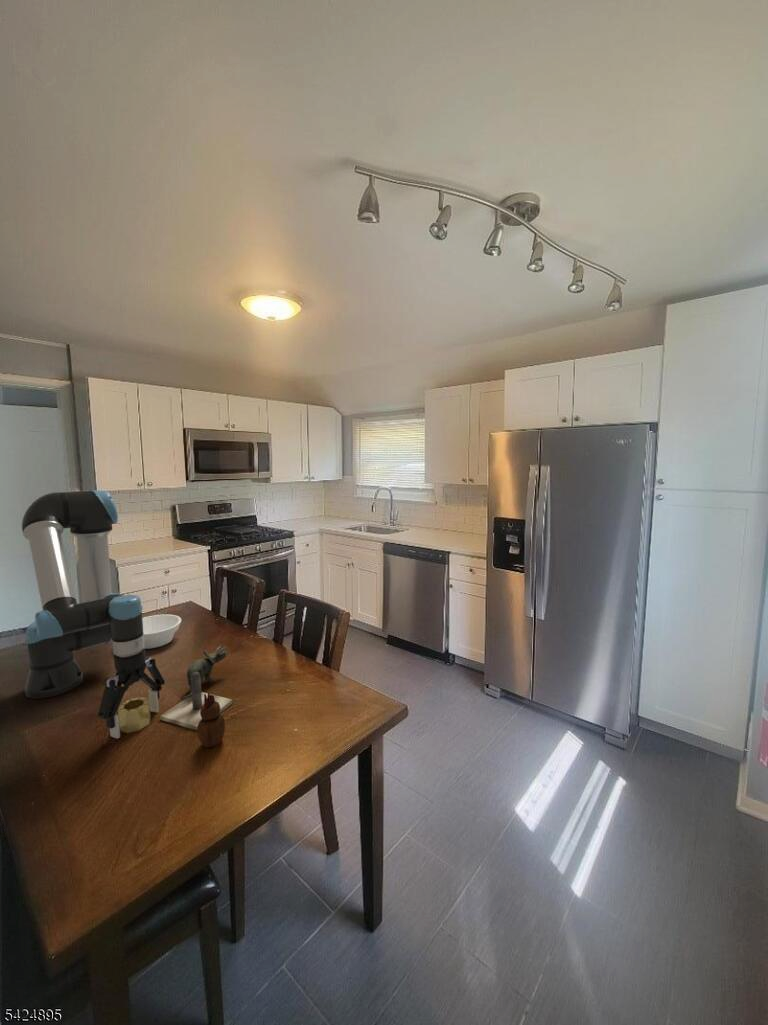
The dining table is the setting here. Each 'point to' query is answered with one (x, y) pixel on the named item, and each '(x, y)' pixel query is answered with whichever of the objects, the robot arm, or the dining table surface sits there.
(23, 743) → the dining table surface
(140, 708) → the sleeve
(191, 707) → the post board
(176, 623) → the bowl
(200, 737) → the wooden figurine
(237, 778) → the dining table surface
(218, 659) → the dinosaur figurine
